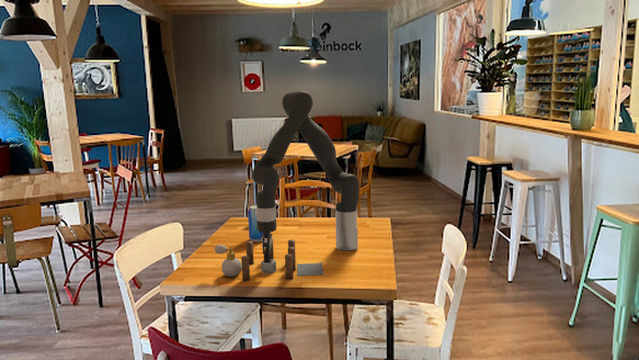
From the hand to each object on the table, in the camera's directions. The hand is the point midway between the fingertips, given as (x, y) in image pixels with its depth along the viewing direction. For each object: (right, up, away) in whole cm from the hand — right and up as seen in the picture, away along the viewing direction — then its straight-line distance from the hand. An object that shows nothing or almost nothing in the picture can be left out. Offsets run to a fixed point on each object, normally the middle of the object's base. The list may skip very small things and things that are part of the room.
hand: (267, 258), depth 182 cm
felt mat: (+16, -4, +2) cm, 17 cm away
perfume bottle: (-14, -6, -3) cm, 16 cm away
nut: (0, -5, +1) cm, 5 cm away
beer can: (-9, +2, +40) cm, 41 cm away
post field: (+1, -5, +3) cm, 6 cm away
